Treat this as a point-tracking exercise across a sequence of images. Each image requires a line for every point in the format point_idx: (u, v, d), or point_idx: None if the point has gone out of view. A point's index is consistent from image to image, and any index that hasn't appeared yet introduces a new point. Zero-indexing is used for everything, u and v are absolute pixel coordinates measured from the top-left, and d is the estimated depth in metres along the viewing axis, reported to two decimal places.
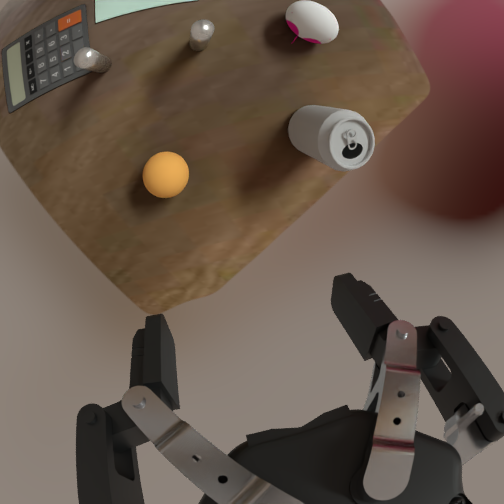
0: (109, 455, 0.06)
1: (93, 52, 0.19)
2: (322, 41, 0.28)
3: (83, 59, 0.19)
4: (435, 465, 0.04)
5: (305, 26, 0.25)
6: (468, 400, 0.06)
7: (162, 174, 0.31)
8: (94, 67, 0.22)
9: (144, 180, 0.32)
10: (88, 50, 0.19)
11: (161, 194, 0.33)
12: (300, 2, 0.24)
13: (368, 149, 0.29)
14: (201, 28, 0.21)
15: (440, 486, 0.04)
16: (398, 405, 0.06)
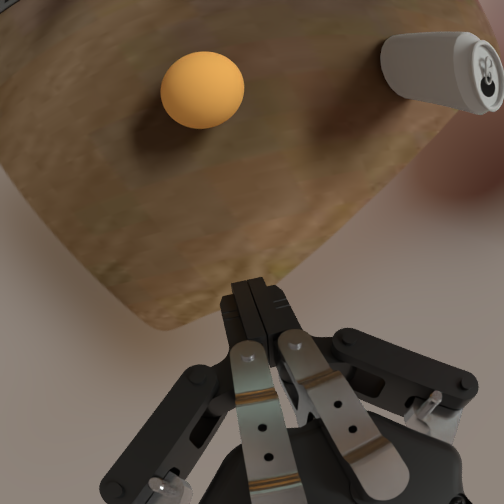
0: (193, 421, 0.07)
1: None
2: None
3: None
4: (435, 465, 0.04)
5: None
6: (418, 393, 0.07)
7: (202, 76, 0.14)
8: None
9: (164, 92, 0.16)
10: None
11: (195, 116, 0.16)
12: None
13: (499, 91, 0.13)
14: None
15: (440, 486, 0.04)
16: (343, 415, 0.06)
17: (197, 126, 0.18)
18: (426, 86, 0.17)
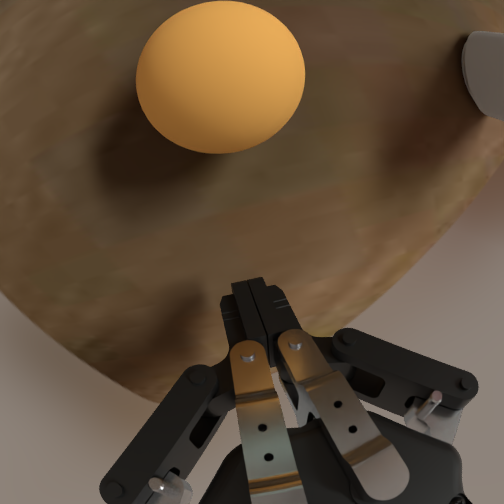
0: (193, 421, 0.07)
1: None
2: None
3: None
4: (435, 465, 0.04)
5: None
6: (417, 393, 0.07)
7: (228, 39, 0.06)
8: None
9: (141, 80, 0.07)
10: None
11: (209, 131, 0.07)
12: None
13: None
14: None
15: (440, 486, 0.04)
16: (343, 415, 0.06)
17: (211, 151, 0.09)
18: None
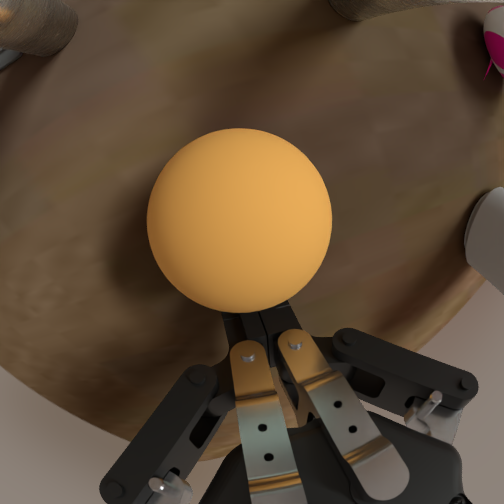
0: (193, 421, 0.07)
1: None
2: None
3: None
4: (435, 465, 0.05)
5: None
6: (418, 393, 0.07)
7: None
8: None
9: None
10: None
11: None
12: None
13: None
14: None
15: (440, 486, 0.04)
16: (343, 415, 0.06)
17: (206, 148, 0.07)
18: None
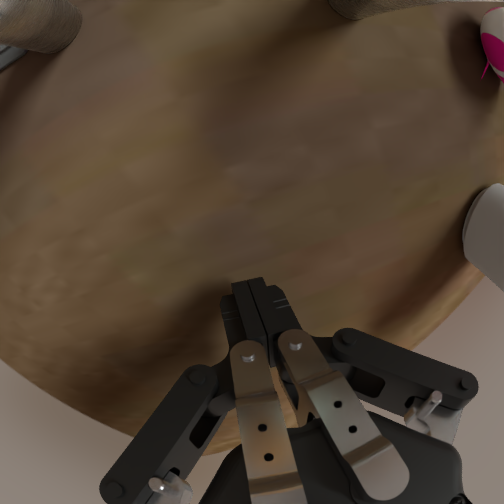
0: (193, 421, 0.07)
1: None
2: None
3: None
4: (435, 465, 0.05)
5: None
6: (418, 393, 0.07)
7: None
8: None
9: None
10: None
11: None
12: None
13: None
14: None
15: (440, 486, 0.04)
16: (343, 415, 0.06)
17: None
18: None
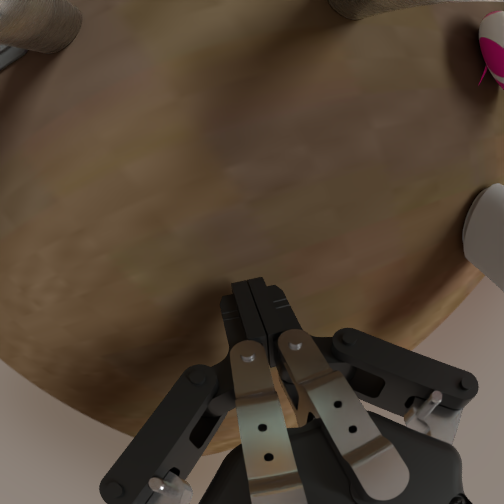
0: (193, 421, 0.07)
1: None
2: None
3: None
4: (435, 465, 0.05)
5: None
6: (418, 393, 0.07)
7: None
8: None
9: None
10: None
11: None
12: None
13: None
14: None
15: (440, 486, 0.04)
16: (343, 415, 0.06)
17: None
18: None
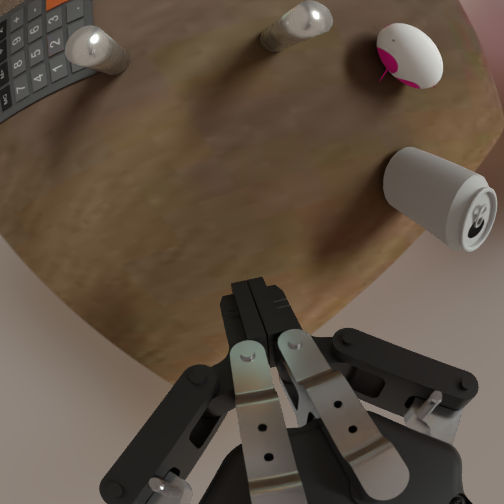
0: (193, 421, 0.07)
1: (103, 35, 0.10)
2: (423, 87, 0.19)
3: (83, 48, 0.09)
4: (435, 465, 0.05)
5: (410, 65, 0.17)
6: (418, 393, 0.07)
7: None
8: (103, 64, 0.12)
9: None
10: (93, 31, 0.09)
11: None
12: (403, 26, 0.15)
13: (487, 224, 0.19)
14: (311, 15, 0.11)
15: (440, 486, 0.04)
16: (343, 415, 0.06)
17: None
18: (420, 221, 0.23)
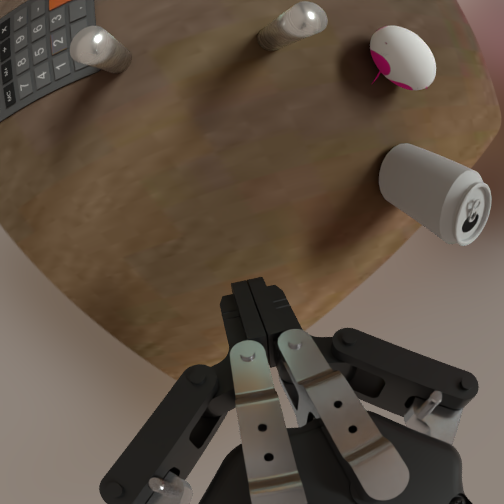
0: (193, 421, 0.07)
1: (107, 35, 0.10)
2: (416, 89, 0.20)
3: (87, 47, 0.10)
4: (435, 465, 0.05)
5: (402, 67, 0.17)
6: (418, 393, 0.07)
7: None
8: (106, 63, 0.13)
9: None
10: (97, 31, 0.10)
11: None
12: (396, 29, 0.16)
13: (481, 219, 0.20)
14: (306, 15, 0.12)
15: (440, 486, 0.04)
16: (343, 415, 0.06)
17: None
18: (414, 216, 0.24)
